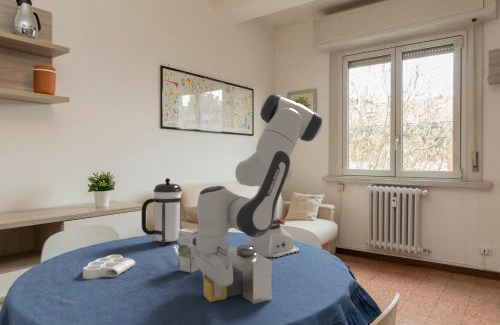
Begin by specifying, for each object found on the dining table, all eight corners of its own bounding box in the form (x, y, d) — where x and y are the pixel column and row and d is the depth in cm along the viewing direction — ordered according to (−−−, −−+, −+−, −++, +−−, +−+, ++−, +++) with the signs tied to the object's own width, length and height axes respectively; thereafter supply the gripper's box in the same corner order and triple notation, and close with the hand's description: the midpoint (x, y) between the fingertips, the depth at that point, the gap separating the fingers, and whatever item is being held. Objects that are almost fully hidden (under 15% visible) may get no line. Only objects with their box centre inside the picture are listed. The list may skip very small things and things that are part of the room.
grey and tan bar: (265, 283, 111) (265, 267, 111) (274, 288, 106) (274, 272, 106) (203, 295, 100) (203, 278, 100) (210, 301, 96) (210, 283, 96)
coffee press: (156, 237, 171) (156, 177, 170) (188, 239, 169) (188, 177, 168) (140, 246, 154) (140, 179, 153) (175, 248, 152) (175, 179, 151)
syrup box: (200, 268, 125) (200, 228, 124) (191, 273, 119) (191, 231, 119) (187, 266, 127) (187, 226, 127) (177, 271, 122) (177, 230, 121)
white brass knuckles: (112, 282, 112) (71, 278, 115) (139, 264, 130) (104, 262, 132) (112, 271, 112) (71, 268, 115) (139, 255, 130) (104, 253, 132)
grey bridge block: (240, 278, 114) (240, 239, 114) (271, 299, 98) (272, 253, 98) (224, 281, 112) (224, 241, 111) (253, 304, 95) (253, 256, 95)
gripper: (239, 250, 91) (238, 302, 92) (209, 235, 109) (209, 279, 109) (217, 253, 88) (216, 307, 88) (190, 237, 106) (190, 282, 106)
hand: (212, 291), depth 99 cm, fingers closed on grey and tan bar, 5 cm apart
